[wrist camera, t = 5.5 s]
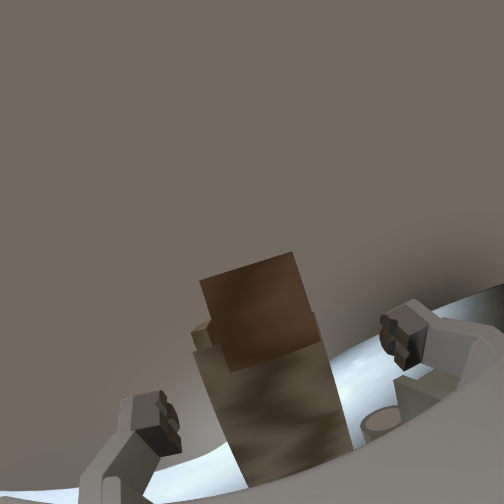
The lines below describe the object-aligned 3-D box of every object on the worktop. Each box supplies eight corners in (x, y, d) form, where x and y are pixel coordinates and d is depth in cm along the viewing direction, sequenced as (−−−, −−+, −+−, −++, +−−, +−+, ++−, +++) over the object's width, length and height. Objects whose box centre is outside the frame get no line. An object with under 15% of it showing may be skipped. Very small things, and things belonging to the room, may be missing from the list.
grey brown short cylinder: (361, 472, 30) (352, 435, 31) (377, 443, 36) (369, 407, 37) (409, 470, 26) (404, 431, 27) (420, 439, 32) (415, 401, 32)
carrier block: (473, 563, 7) (499, 422, 9) (412, 509, 19) (393, 380, 21) (527, 512, 8) (556, 356, 10) (461, 475, 20) (452, 344, 22)
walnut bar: (230, 373, 10) (199, 280, 11) (225, 326, 28) (214, 291, 28) (320, 341, 11) (292, 251, 11) (261, 315, 28) (249, 279, 29)
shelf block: (297, 576, 15) (186, 334, 18) (276, 509, 28) (201, 319, 31) (375, 546, 16) (308, 294, 19) (335, 488, 29) (274, 295, 32)
